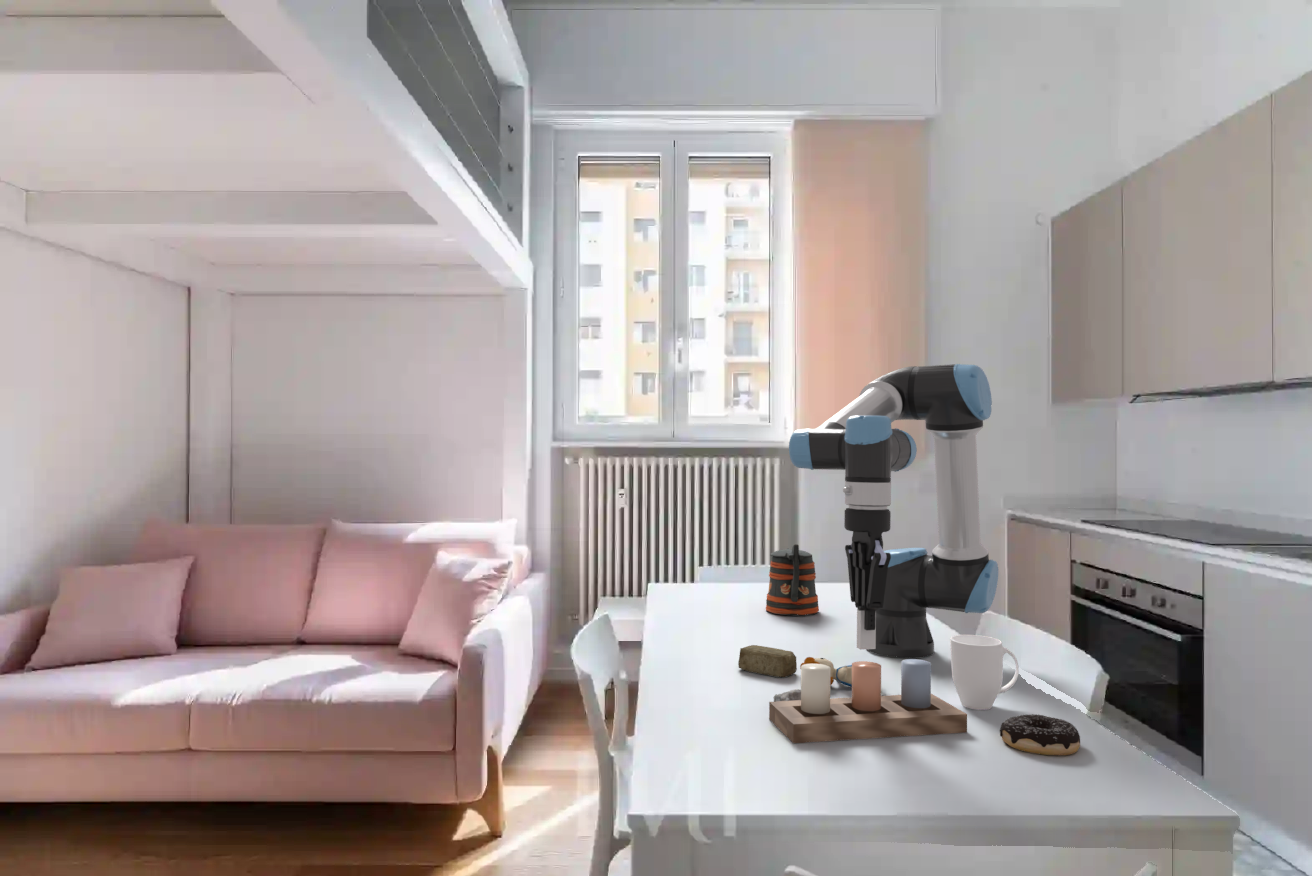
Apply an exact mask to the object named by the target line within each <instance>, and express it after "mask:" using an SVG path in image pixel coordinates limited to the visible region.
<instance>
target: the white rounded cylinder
mask: <svg viewBox="0 0 1312 876" xmlns="http://www.w3.org/2000/svg"><path fill="white" fill-rule="evenodd" d="M800 690H801V710H802V711H804V712H807V713H812V714H825V713H828V712H830V699H831V686H830V667H829V666H827V665H823V664H804V665H802V666H801V669H800Z"/></svg>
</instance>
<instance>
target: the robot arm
mask: <svg viewBox="0 0 1312 876" xmlns="http://www.w3.org/2000/svg"><path fill="white" fill-rule="evenodd" d="M992 403H993V401H992V393H991V388H990V383H989V380H988V377H987V375H986V373H985V371H984V370H983V369H982V368H981V367H980V366H979V365H975V364H963V363H962V364H960V363H955V364H940V365H939V364H936V365H925V366H924V365H923V366H918V365H917V366H915V365H914V366H913V365H912V366H907V367H902V368H898V369H896V370H892V371H891V372H888V373H887V372H886V373H885V374H883V375H881V376H879V377H877V378H875V379H874V380H872V381H870V382H869V383H868V384H866V385H865V386H864V387H863V388H862V389H861V391H860V393H859V395H858V397H857V398H855V399H853V400H852V401H851V402H849V403H848V404H847V405H846V406H844V407H843V408H841V409H840V410H839V411H838V412H836V413H834V415H833V416H831V417H829V418H828V419H827V420H825V421H824V422H823V423H822V424H820V425H819V426H817V427H815V428H809V427H807V428H799V429H796V430H794V431H793V432H792V434H791V436H790V439H789V442H788V453H789V458H790V461H791V463H792V465H793V466H795V467H796V468H798V469H808V470H812V471H813V470H827V471H828V470H834V471H838V470H840V471H842V470H843V471H845V472H844V483H845V484H844V487H843V488H842V492H843V493H844V504H845V505H846V506H848V507H847V508H845V509H844V529H845V530H846V531H848V532H852V537H851V544H846V545H845V546H844V549H845V550H844V551H845V556H846V557H847V558H846V560H847V568H848V569H847V570H848V581H849V582H848V583H849V594H850V595H849V596H850V601H851V602H852V603H854V605H855V608H856V648H857V649H859V650H866V651H867V652H870V653H872V654H874V655H879V656H884V657H890V658H902V659H916V658H917V659H918V658H919V659H920V658H925V657H926V658H927V657H929V656H932V655H934V654H935V642H934V639H933V638H934V637H933V636H932V632H931V629H930V626H929V623H928V619H927V608H929V609H934V610H935V609H936V610H944V611H952V612H953V611H954V612H961V613H965V614H968V613H969V614H970V613H971V614H972V613H973V614H984V613H987V611H989V610H990V608H991V606H993V605H992V604H993V602H994V599H995V595H996V593H997V587H998V582H999V567H998V565H999V564H998V562H997V561H996V560H993V559H990V557H989V549H988V548H987V547H985V546H984V545H983V544H982V542H981V528H980V527H981V526H980V525H981V524H980V521H981V520H980V505H979V504H980V503H979V502H980V501H979V499H980V498H979V497H980V496H979V479H978V478H979V474H978V455H977V454H978V452H977V451H978V450H977V434H979V432H980V431H981V430H982V429H983V428H984V421H985V420H986V421H987V420H989V418H990V417H991V414H992ZM901 420H903V421H904V420H905V421H906V420H909V421H911V420H913V421H925V430H926V431H927V432H928V433H929V434H930V435H931V436H932V437H933V449H934V451H933V453H934V466H935V468H934V469H935V470H934V471H935V487H936V488H935V489H936V507H937V525H938V526H937V529H938V544H937V545H936V546H935V547H934V548H932V551H931V553H932V555H928V551H927V549H926V548H925V547H906V548H905V547H904V548H895V549H894V548H893V549H887V550H884V541H883V536H882V534H883V533H887V532H890V530H891V516H892V515H891V514H892V513H891V510H890V509H889V508H888V507H889V506H890V505H891V503H892V481H891V480H892V472H894V473H897V472H900V471H902V470H905V469H907V468H908V467H910V466H911V465H912V464H913V462H914V461H915V459H916V458H917V450H918V449H917V444H916V442H915V439H914V438H913V436H911V434H910V433H908V432H907V431H904V430H902V429H899V428H897V427H896V428H892V423H893V422H895V421H901Z"/></svg>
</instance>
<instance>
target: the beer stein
mask: <svg viewBox="0 0 1312 876" xmlns="http://www.w3.org/2000/svg"><path fill="white" fill-rule="evenodd" d="M791 547H792V548H791V549H790V548H786V549H781V550H780V549H779V550H775V551H773V552H770V554H769V556H770V557H772V558H771V560H770V564H769V565H770V566H769V574H768V577H769V582H768V591H767V594H766V599H765V602H766V603H765V611H766V612H767V613H768V612H769V613H772V614H775V615H781V616H796V617H797V616H804V617H805V616H810V615H815V614H817V613H819V611H820V608H819V597H818V596H819V595H818V594H817V591H816V582H815V581H816V578H817V576H816V574H817V573H816V568H815V562H814V560H813V554H811V553H810V552H809V551H805V550H801V549H800V547H799V544H798V543H797V544H796V543H794V544H793V545H792V546H791Z"/></svg>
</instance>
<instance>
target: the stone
mask: <svg viewBox="0 0 1312 876" xmlns="http://www.w3.org/2000/svg"><path fill="white" fill-rule="evenodd" d="M794 700H801V689H798V688H796V689H791V690H788V691H785V692H781V693H778V694H774V696H773V702H775V701H794Z"/></svg>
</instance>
